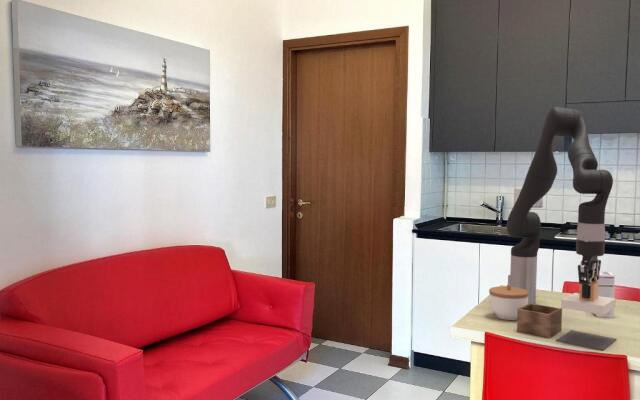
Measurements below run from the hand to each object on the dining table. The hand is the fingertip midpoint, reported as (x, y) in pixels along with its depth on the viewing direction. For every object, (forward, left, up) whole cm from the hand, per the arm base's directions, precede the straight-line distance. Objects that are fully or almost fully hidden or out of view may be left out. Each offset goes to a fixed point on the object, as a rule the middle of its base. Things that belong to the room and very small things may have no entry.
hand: (588, 296), depth 177 cm
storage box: (-14, 0, -13) cm, 19 cm away
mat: (0, 0, -13) cm, 13 cm away
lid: (0, 0, -3) cm, 3 cm away
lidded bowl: (-28, +9, -13) cm, 32 cm away
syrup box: (-5, +33, -13) cm, 36 cm away
